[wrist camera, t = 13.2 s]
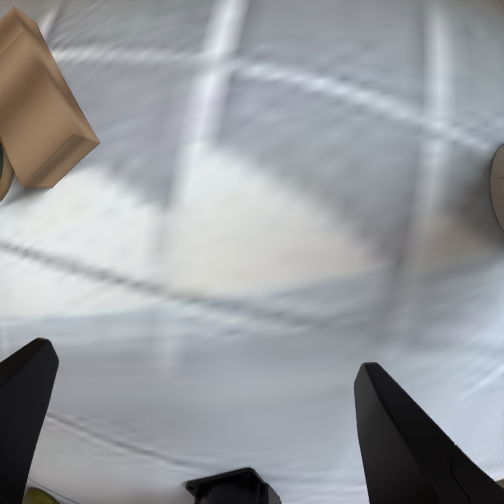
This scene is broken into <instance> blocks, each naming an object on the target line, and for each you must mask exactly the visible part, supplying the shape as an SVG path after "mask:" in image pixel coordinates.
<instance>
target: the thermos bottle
mask: <svg viewBox="0 0 504 504" xmlns="http://www.w3.org/2000/svg"><path fill="white" fill-rule="evenodd" d="M490 192H491V200H492V204H493V208H494V212H495V214H496V217H497V220H498V222H499V223H500V225H501V227H502V228H503V229H504V144H503V145H502V146H501V147H500V149H499V150H498V151H497V153H496V155H495V158H494V160H493V164H492V168H491V176H490Z"/></svg>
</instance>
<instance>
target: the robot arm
mask: <svg viewBox="0 0 504 504" xmlns="http://www.w3.org/2000/svg"><path fill="white" fill-rule="evenodd" d="M58 365H59V359H58V356H57V354H56V352H55V350H54V348H53V345H52V343H51V341H50V340H48V339H45V338H40V337H39V338H36V339H34V340H33V341H31V342H30V343H28V344H27V345H25V346H24V347H22V348H21V349H19V350H18V351H17V352H15V353H14V354H12V355H11V356H9V357H8V358H6V359H5V360H3V361H2V362H1V363H0V504H22V501H23V496H24V491H25V487H26V482H27V478H28V474H29V470H30V466H31V462H32V459H33V455H34V451H35V448H36V444H37V441H38V437H39V434H40V431H41V428H42V424H43V421H44V418H45V415H46V412H47V409H48V405H49V401H50V397H51V393H52V389H53V385H54V381H55V377H56V373H57V369H58ZM354 396H355V407H356V419H357V432H358V439H359V445H360V450H361V456H362V461H363V467H364V472H365V478H366V484H367V490H368V496H369V502H370V504H504V488H503V487H501V486H500V485H499V484H498V483H496V482H495V481H494V480H493V479H492V478H491V477H489V476H488V475H487V474H486V473H485V472H484V471H482V470H481V469H480V468H479V467H478V466H477V465H476V464H475V463H474V462H473V461H472V460H471V459H470V458H469V457H468V456H467V455H466V454H465V453H464V452H463V451H462V450H461V449H460V448H459V447H458V446H457V445H455V443H454V442H453V441H452V440H451V439H450V438H449V437H448V436H447V435H446V433H445V432H444V431H443V430H442V429H441V428H440V427H439V426H438V425H437V424H436V423H435V422H434V421H433V420H432V419H431V418H430V417H429V416H428V415H427V414H426V413H425V411H424V410H423V409H422V408H421V407H420V406H419V405H418V404H417V403H416V402H415V401H414V400H413V399H412V398H411V397H410V396H409V395H408V394H407V393H406V392H405V391H404V390H403V389H402V388H401V386H400V385H399V384H398V383H397V382H396V381H395V380H394V379H393V378H392V377H391V376H390V375H389V374H388V373H387V372H386V371H385V370H384V369H383V368H382V367H381V366H380V365H379V364H378V363H376V362H367V363H363V364H362V365H361V367H360V369H359V372H358V374H357V377H356V379H355V382H354ZM248 473H251V474H248ZM186 489H187V490H188V491H189V492H190V493H191V494H192V495H193V496H194V497H195V501H194V504H282V502H281V501H280V497H279V496H278V495H277V494H276V492H275V491H274V490H273V489H272V488H271V486H270V485H269V484H267V483H265V482H264V481H263V480H262V479H261V477H260V476H259V475H258V474H257V472H256V471H255V470H254V469H252V468H246V469H243V470H239V471H235V472H231V473H227V474H223V475H219V476H215V477H210V478H206V479H201V480H196V481H191V482H188V483H187V484H186Z"/></svg>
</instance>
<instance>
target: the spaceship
mask: <svg viewBox="0 0 504 504" xmlns="http://www.w3.org/2000/svg"><path fill="white" fill-rule="evenodd" d="M22 504H59V503H58V502H57V501H56V500H55V499H54V498H53V497H52V496H50V495H49V494H47V493H46V492H44V491H42V490H40V489H30V490H28V492H27V494H26V495H25V497H24V499H23V501H22Z"/></svg>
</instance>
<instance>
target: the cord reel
mask: <svg viewBox="0 0 504 504" xmlns="http://www.w3.org/2000/svg"><path fill="white" fill-rule="evenodd" d="M13 174H14V169H13V167H12V164H11V162H10V160H9V157H8V155H7V152H6V150H5V147H4V145H3V142H2V140H1V137H0V202H1V201H2V199H3V198H4V197H5V195H6V193H7V192H8V190H9V187H10V185H11V182H12V179H13Z"/></svg>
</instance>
